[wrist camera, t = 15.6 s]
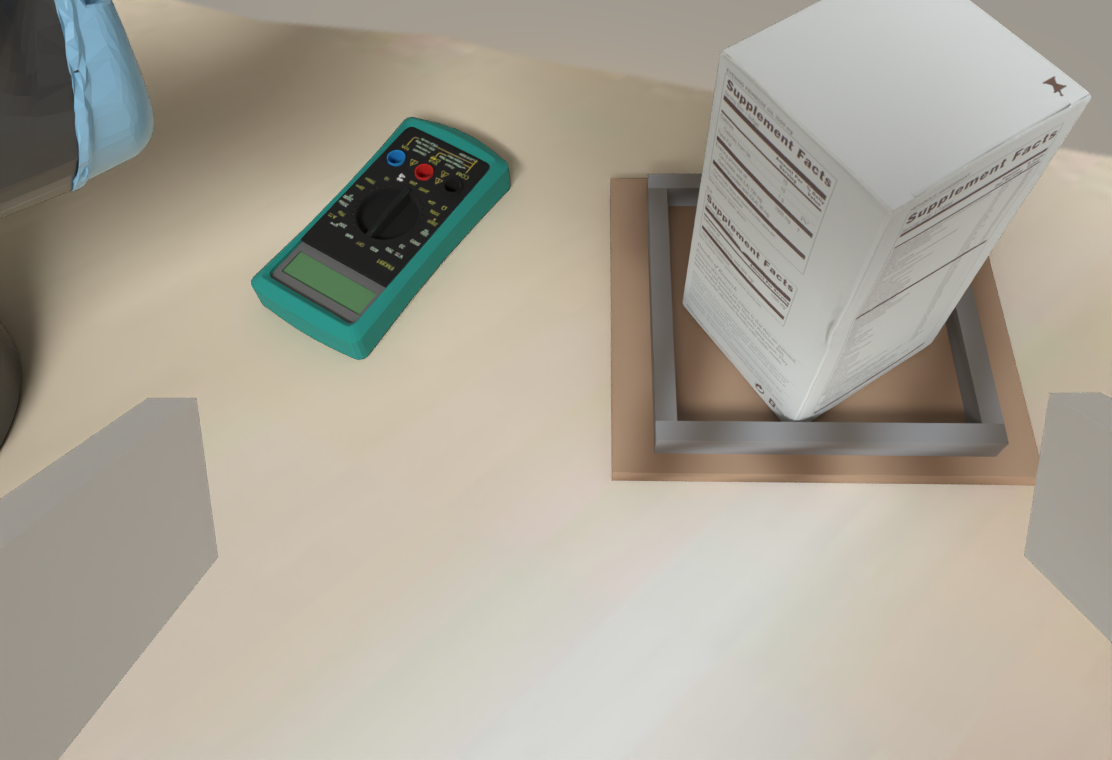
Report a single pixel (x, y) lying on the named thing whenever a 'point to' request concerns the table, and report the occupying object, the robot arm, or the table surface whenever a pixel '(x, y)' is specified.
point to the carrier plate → (748, 422)
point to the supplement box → (861, 186)
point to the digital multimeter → (383, 236)
